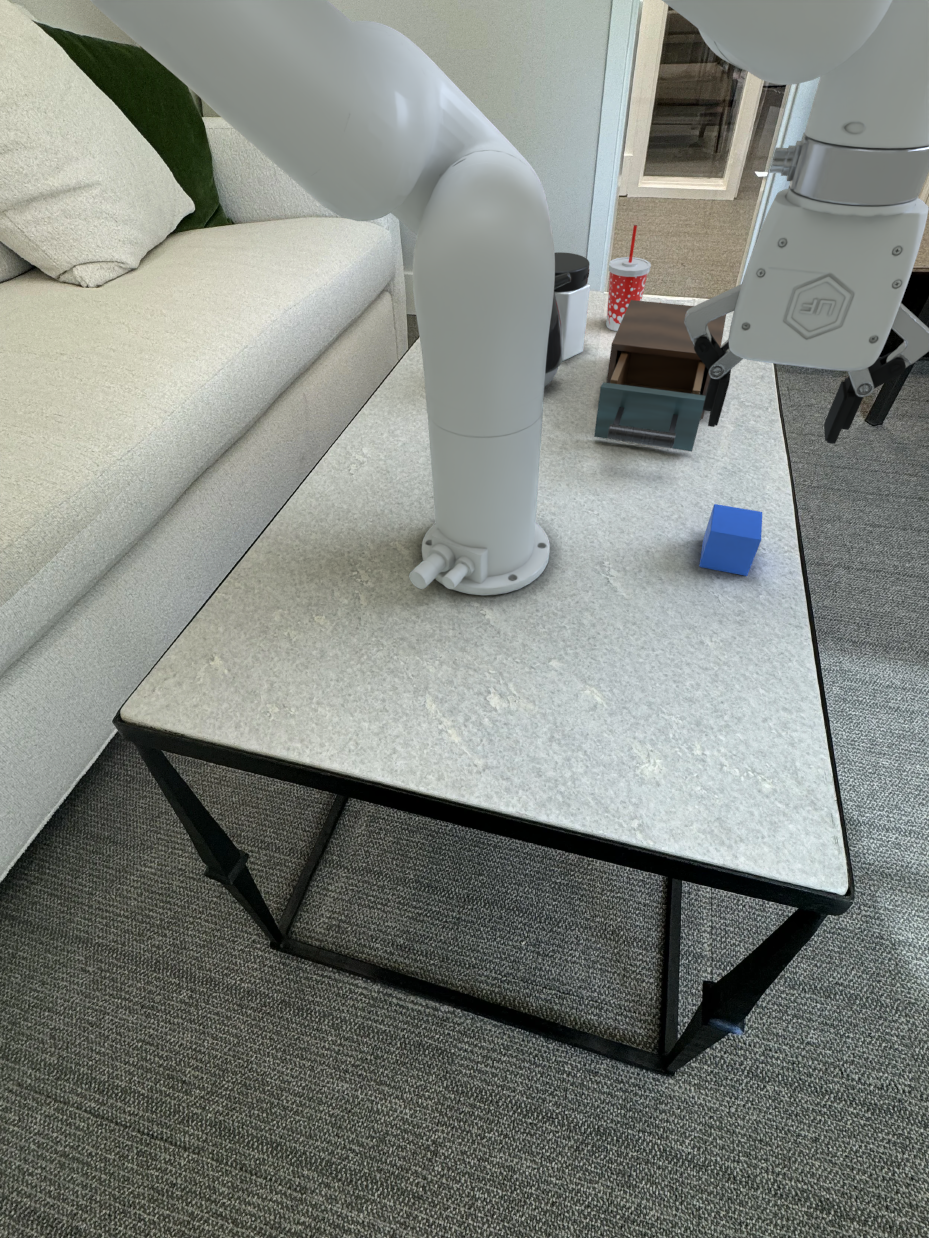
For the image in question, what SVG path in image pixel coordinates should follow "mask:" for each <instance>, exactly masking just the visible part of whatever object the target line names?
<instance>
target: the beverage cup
mask: <svg viewBox="0 0 929 1238" xmlns="http://www.w3.org/2000/svg"><path fill="white" fill-rule="evenodd" d="M637 228H638V224H633V228H632V236H631V242H630V249H629V256H623V257H616V258H613V259H611V260H610V261H609V262H608V272H609V280H608V297H607V307H606V308H607V309H606V321H605V322H606V323H605V325H606V328H607V329H609V330H611V331H615V332H617V331H618V328H619V326H620V324H621V322H622V319H623V317H624V315H625V312H626V310H627V308H628V306H629V303H630V301H631V300H637V301H643V296H644V291H645V287H646V283H647V278H648V274H649V272H650V271H651V267H652V263H651V262H650V261H648V260H647V259H644V258H642V257H633V256H634V249H635V244H636V237H637V236H636V235H637V230H638V229H637Z"/></svg>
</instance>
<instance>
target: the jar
mask: <svg viewBox="0 0 929 1238" xmlns="http://www.w3.org/2000/svg"><path fill="white" fill-rule="evenodd" d="M565 273H569V274H570V275H571V281H570V282H569V283H566V284H564V285H562V286H560V287H558V288H556V289H554V293H555V296H556V299H557V303H558V307H559V312H560V317H561V324H562V334H563V359H562V362H564V361H567V360H568V359H570V358H572V357H575V356H577V355H579V354H581V353H583V352H584V346H585V337H586V330H587V329H586V328H587V319H588V318H587V317H588V310H589V300H590V292H591V284H590V283H589V278H590V260H589V259H588V258H586V257H585V256H583V255H580V254H577V253H573V252H563V251H562V252H559V251H557V252H556V251H555V276H558V275H562V274H565Z"/></svg>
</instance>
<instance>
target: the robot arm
mask: <svg viewBox="0 0 929 1238" xmlns="http://www.w3.org/2000/svg"><path fill="white" fill-rule="evenodd" d="M89 1H90V2H91V4H92V5H93V6H95V7H96V8H97V9H98V10H99V12H101V14H103V15H104V16H105V17H107V18H108V19H109V20H110V21H111V22H112V23H113V24H114V25H115V26H117V28H119V29H120V30H121V31H122V32H123V33H125V34H126V35H127V36H128V37H129V38H130V39H131V40H132V41H134V42H135V43H136V44H137V45H138V46H140V47H141V49H143V50H144V51H146V53H148V54H149V55H151V56H152V57H153V58H154V59H155V60H156V61H157V62H159V63H160V64H161V65H162V66H164V67H165V68H166V70H167V71H169V72H170V73H172V74H173V75H174V76H175V77H176V78H177V79H178V80H180V81H181V82H182V83H183V84H184V85H186V86H187V87H188V88H189V89H190V90H191V91H192V92H193V93H195V94H196V95H197V96H198V97H199V98H200V99H201V100H202V101H203V102H204V103H205V104H206V105H207V106H208V107H209V108H211V110H213V111H214V113H216V114H217V115H218V116H219V117H220V118H221V119H222V120H224V121H225V122H226V123H227V124H228V125H230V126H231V127H232V128H233V129H234V130H236V132H237V133H239V134H240V135H241V136H242V137H243V138H244V139H246V140H247V141H248V142H249V143H250V144H251V145H253V147H255V148H256V149H257V150H258V151H260V153H262V154H263V155H264V156H265V157H266V158H267V159H269V160H270V161H271V162H272V163H273V164H274V165H276V167H277V168H279V169H280V170H281V171H282V172H283V173H285V175H287V176H288V177H289V178H291V180H292V181H294V182H295V183H296V184H297V185H298V186H299V187H301V189H303V191H305V192H306V193H307V194H308V195H310V196H311V197H312V199H314V200H315V201H316V202H318V203H319V204H320V205H321V206H323V207H324V208H325V209H327V210H329V211H330V212H332V213H333V214H335V215H337V216H339V217H341V218H343V219H347V220H352V221H355V222H371V221H375V220H378V219H382V218H384V217H386V216H388V215H389V214H392V216H394V217H395V218H396V219H397V220H398V221H399V222H400V223H402V224H403V226H405V227H406V228H407V229H408V230H409V231H410V232H412V233H413V234H414V235H415V236H416V239H415V244H414V250H413V258H412V292H413V303H414V309H415V310H414V311H415V315H416V323H417V329H418V335H419V341H420V349H421V351H420V352H421V357H422V367H423V368H422V369H423V379H424V391H425V392H424V393H425V404H426V405H425V406H426V415H427V426H428V427H427V428H428V438H429V439H428V440H429V454H430V467H431V479H432V480H431V481H432V494H433V506H434V507H433V508H434V521H435V522H434V523H433V524H432V525H431V526H430V527H429V529H428V530H427V531H426V532H425V534H424V537H423V539H422V541H421V556H422V561H421V562H419V564H418V565H416V566H415V567H414V568H413V569H412V570H411V571H410V573H408V578H409V580H410V583H411V584H412V585H413V586H414V587H416V588H417V589H420V590H424V589H426V588H427V587H428V586H429V585H430V584H431V583H432V582H433V581H434V580H436V581H437V582H438V583H440V584H441V585H443V586H444V587H445V588H446V589H448V590H453V591H456V592H460V593H463V594H468V595H475V596H496V595H501V594H507V593H511V592H514V591H517V590H520V589H522V588H525V587H526V586H528V585H530V584H532V583H533V582H534V581H535V580H537V579H538V578H539V577H540V576H541V575H542V573H543V572H544V571H545V569H546V567H547V565H548V563H549V559H550V550H551V549H550V547H551V544H550V540H549V536H548V535H547V533H546V531H545V530H544V528H543V527H542V526H541V525H540V524H539V523H538V522H537V507H538V495H539V494H538V493H539V492H538V490H539V476H540V463H541V462H540V460H541V447H542V432H543V417H544V397H545V396H544V395H545V387H544V382H545V369H546V356H547V346H548V337H549V328H550V320H551V313H552V304H553V294H554V281H555V253H556V251H555V241H554V233H553V227H552V220H551V215H550V207H549V204H548V199H547V195H546V192H545V189H544V187H543V183H542V181H541V179H540V178H539V175H538V174H537V172H536V170H535V169H534V167H532V165H531V164H530V163H529V161H528V160H527V159H526V158H525V157H524V156H523V154H521V153H520V151H519V150H518V149H517V148H516V147H515V146H514V145H513V144H512V142H511V141H509V140H508V138H507V137H506V136H505V135H504V134H503V133H502V132H501V131H500V130H499V129H498V128H497V127H496V126H495V125H494V124H493V123H492V122H491V120H489V119H488V118H487V116H485V114H484V113H483V111H481V110H480V109H479V108H478V107H477V106H476V105H475V104H474V103H473V102H472V101H471V99H470V98H469V97H468V96H467V95H466V94H465V93H464V92H463V91H462V90H461V89H460V88H459V87H458V86H457V85H456V84H455V83H454V82H453V80H452V79H451V78H450V77H449V76H447V74H446V73H445V72H444V71H443V70H442V69H441V68H440V67H439V66H438V64H436V62H435V61H433V59H432V58H431V57H429V56H428V54H427V53H426V52H424V51H423V50H422V48H420V46H418V45H417V44H415V42H414V41H412V40H411V39H410V38H409V37H408V36H406V35H404V34H403V33H402V32H400V31H399V30H397V29H395V28H393V27H391V26H389V25H388V24H387V25H386V24H384V23H381V22H377V21H371V20H354V21H352V20H351V19H350V18H349V17H347V16H346V15H345V14H344V13H343V12H342V11H341V10H340V9H338V8H337V7H336V6H335V5H334V4H333V3H332V2H330V0H89ZM661 1H662V2H663V3H664V4H665V5H667V6H669V7H670V8H671V9H672V10H674V11H675V12H676V13H678V14H679V15H680V16H681V17H683V18H684V19H685V20H687V21H688V22H689V23H691V24H692V25H693V26H694V27H696V28H697V29H698V32H699V34H700V36H701V38H702V40H703V42H705V44H706V46H708V48H709V49H710V50H711V51H712V52H713V53H714V55H716V56H717V57H718V58H719V59H722V60H723V61H724V62H726V63H729V64H731V65H732V66H734V67H736V68H738V69H740V70H744V71H746V72H748V73H749V74H751V75H752V76H754V77H756V78H758V79H760V80H761V81H764V82H767V83H770V84H774V85H781V86H788V85H789V86H790V85H791V86H792V85H799V84H802V83H807V82H811V81H814V80H816V79H818V78H819V82H818V85H817V88H816V91H815V94H814V98H813V101H812V105H811V108H810V112H809V116H808V120H807V123H806V126H805V130H804V132H803V133H802V136H801V140H796V141H795V145H790V144H789V145H788V146H787V147H775V149H774V152H773V156H772V159H771V164H770V167H769V172H768V173H769V174H780V177H786V182H789V186H788V188H785V189H782V190H780V191H778V192H777V193H776V195H775V197H774V199H773V201H772V202H771V204H770V207H769V208H768V211H767V213H766V216H765V218H764V220H763V222H762V225H761V228H760V231H759V233H758V237H757V239H756V242H755V243H754V247H753V249H752V251H751V255H750V257H749V260H748V263H747V266H746V269H745V272H744V275H743V278H742V281H741V283H740V284H739V285H736V286H734V287H732V288H729V289H728V290H726V291H723V292H720V293H719V294H717V295H715V296H713V297H710V298H708V299H707V300H704V301H702V302H700V303H698V304H695V305H693V306H694V307H691V308H690V309H688V310H687V312H686V315H685V319H684V323H685V326H686V328H687V331H688V333H689V336H690V338H691V340H692V342H693V345H694V350H695V352H696V354H697V355H698V357H699V358H700V359H701V361H702V362H703V363H704V365H705V366H706V368H707V369H708V370H709V375H710V381H709V385H708V389H707V393H706V396H705V400H704V405H703V411H705V412H709V417H708V423H707V427H711V428H715V426H718V425H719V421H720V418H721V414H722V410H723V407H724V403H725V400H726V396H727V393H728V389H729V385H730V381H731V373H732V369H734V367H736V366H737V365H738V364H739V363H740V362H742V361H743V360H747V361H752V362H759V363H766V364H767V363H768V364H775V365H785V366H793V367H802V368H809V369H821V370H829V371H830V370H831V371H838V372H839V371H840V372H841V371H842V372H847V374H848V377H845V378H844V380H842V381H840V384H839V387H838V388H837V392H836V394H835V396H834V398H833V401H832V403H831V406H830V407H829V411H828V413H827V415H826V417H825V420H824V423H823V432H824V442H826V443H827V444H831V445H835V444H836V443H837V441H838V439H839V436H840V434H841V432H842V430H845V431H848V430H850V428H851V426H852V424H853V422H854V419H855V418H856V415H857V413H858V411H859V408H860V407H861V404H862V402H863V399H864V398H866V397H868V396H870V395H871V394H872V393H873V392H874V390H875V389H876V388H879V387H880V386H883V385H884V384H886V383H887V382H889V381H891V380H893V379H895V378H897V377H899V376H901V375H902V374H903V373H904V372H905V370H906V368H908V367H909V366H911V365H913V364H915V363H916V362H917V361H918V360H920V359H921V358H922V357H923V356H925V355H926V354H927V353H929V327H928V326H927V325H926V324H925V323H924V322H922V321H921V320H920V318H918V317H917V316H916V315H915V313H913V312H912V311H910V309H908V308H907V307H906V306H905V305H904V304H903V303H902V301H903V298H904V295H905V292H906V289H907V287H908V284H909V281H910V278H911V275H912V272H913V270H914V266H915V262H916V260H917V256H918V253H919V250H920V246H921V244H922V239H923V236H924V232H925V229H926V224H927V219H928V214H929V205H928V204H926V203H925V201H923V200H922V199H921V198H919V196H920V194H921V192H922V189H923V187H924V184H925V183H926V179H927V177H928V175H929V0H661ZM732 312H733V313H732ZM730 313H732V317H731V322H730V326H729V332H728V338H727V340H725V342H724V343H721V346H719V345H718V343H717V342H716V340H715V339H714V337H713V336H712V335H711V333H710V332H709V329H708V325H707V324H708V323H709V322H710V321H712V320H715V319H717V318H719V317H721V316H724V315H726V316H727V315H728V314H730ZM891 330H893V332H894V333H896V334H897V335H898V336H899V337H900V338H901V339H902V340H903V342H902V343H901V344H900V345H899V346H898V347H897V348H896V349H895V350H893V351H890V352H888V353H886V354H884V355H883V356H880V355H881V353H882V351H883V350H884V347H885V345H886V343H887V340H888V339H889V335H890V333H891ZM879 357H880V358H879Z"/></svg>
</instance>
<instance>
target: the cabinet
mask: <svg viewBox="0 0 929 1238" xmlns="http://www.w3.org/2000/svg"><path fill="white" fill-rule="evenodd" d="M694 306H695V305H688V304H676V303H669V302H668V303H666V302H657V301H645V300H642V301H637V300H631V301H630V303H629V306H628V308H627V310H626V312H625V315H624V317H623V319H622V322H621V324H620V326H619V328H618V331H616V333H615V335H614V338H613V340H612V342H611V347H610V354H609V361H608V368H607V374H606V375H607V376H606V381H605V383H610V380H611V378H612V375H613V373H614V370H615V368H616V365H617V363H618V360H619V358H620V355H621V353H622V351H627V352H635V353H644V354H652V355H661V356H670V357H678V358H687V359H696V360H701V359H700V358H699V357H698V355H697V354H696V352H695V350H694V345H693V342H692V340H691V338H690V336H689V333H688V331H687V328H686V326H685V323H684V319H685V315H686V312H687V310H688V309H690V308H691V307H694ZM726 319H727V314H726V315H724V316H721V317H719V318H717V319H715V320H712V321H710V322H709V323H708V324H707V325H708V329H709V332H710V333H711V335H712V336H713V337H714V339H715V340H716V342H717V343H718V345H719V346H721V345H722V344H723V343H722V342H723V337H724V330H725V324H726ZM709 381H710V375H709V370H708V369H707V368H706V366H705V369H704V374H703V379H702V384H701V389H700V394H699V395H705V396H706V393H707V389H708V385H709ZM705 412H706V411H702V415H701V419H700V420H702V419H704V416H705Z"/></svg>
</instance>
